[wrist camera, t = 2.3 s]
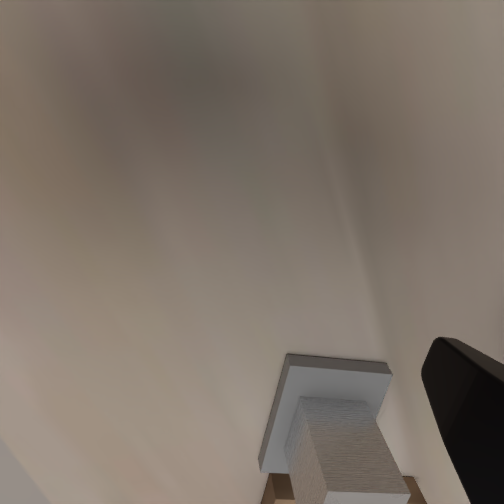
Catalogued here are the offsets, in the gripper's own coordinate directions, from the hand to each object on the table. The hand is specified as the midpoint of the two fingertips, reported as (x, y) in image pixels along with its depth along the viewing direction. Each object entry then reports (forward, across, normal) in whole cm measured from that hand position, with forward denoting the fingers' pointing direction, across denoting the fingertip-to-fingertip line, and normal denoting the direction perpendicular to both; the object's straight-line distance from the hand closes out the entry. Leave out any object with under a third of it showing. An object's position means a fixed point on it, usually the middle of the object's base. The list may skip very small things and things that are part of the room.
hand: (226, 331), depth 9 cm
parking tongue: (+13, -9, +14) cm, 21 cm away
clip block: (+12, -9, +14) cm, 20 cm away
